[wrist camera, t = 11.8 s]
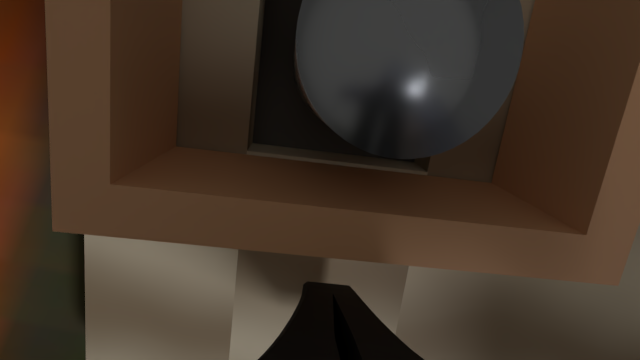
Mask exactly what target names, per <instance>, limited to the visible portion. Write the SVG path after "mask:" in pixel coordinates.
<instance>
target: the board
mask: <svg viewBox="0 0 640 360" xmlns="http://www.w3.org/2000/svg"><path fill="white" fill-rule="evenodd" d="M302 1H303V0H182V22H181V45H180V68H179V92H178V115H177V138H176V146H177V147H186V148H194V149H203V150H212V151H220V152H229V153H238V154H246V155H255V156H264V157H272V158H281V159H289V160H298V161H307V162H315V163H324V164H333V165H341V166H350V167H359V168H367V169H376V170H384V171H393V172H402V173H410V174H419V175H428V176H436V177H445V178H454V179H462V180H471V181H479V182H488V183H491V182H492V178H493V174H494V170H495V166H496V161H497V157H498V153H499V149H500V145H501V141H502V136H503V132H504V128H505V124H506V120H507V115H508V111H509V107H510V103H511V99H512V95H513V90H514V86H515V82H516V79H515V81H514V84H513V86H512V88H511V90H510V92H509V94H508V96H507V98H506V100H505V101H504V103H503V104H502V106H501V107H500V109H499V110H498V112H497V113H496V114H495V115H494V116H493V118H492V119H491V120H490V121H489V122H488V123H487V124H486V125H485V126H484V127H483V128H482V129H481V130H480V131H479V132H478V133H476V134H475V135H474V136H472V137H471V138H469V139H468V140H467V141H465V142H463V143H462V144H460V145H458V146H456V147H454V148H452V149H450V150H447V151H445V152H443V153H440V154H436V155H433V156H429V157H424V158H416V159H395V158H387V157H382V156H378V155H375V154H371V153H369V152H366V151H364V150H362V149H359V148H357V147H355V146H354V145H352V144H350V143H349V142H347V141H345V140H344V139H343V138H342V137H340V136H339V135H338V134H336V133H335V132H334V131H333V130H332V129H331V128H329V127H328V126H327V125H326V124H325V123H324V122H323V121H322V120H321V119H319V118H318V117H317V116H316V115H315V114H314V113H313V112H312V111H311V110H310V109H309V108H308V107H307V105H306V104H305V103H304V101H303V100H302V98H301V96H300V94H299V92H298V89H297V87H296V83H295V79H294V71H293V63H294V51H295V39H296V30H297V21H298V16H299V12H300V8H301V4H302ZM520 3H521V7H522V13H523V21H524V43H523V49H524V45H525V40H526V36H527V32H528V28H529V24H530V19H531V15H532V11H533V7H534V3H535V0H520ZM522 53H523V52H522ZM517 74H518V73H517ZM516 78H517V76H516ZM84 254H85V327H86V360H258V359H259V358H260V357H261V356H262V355H263V354H264V353H265V352H266V350H267V349H268V348H269V347H270V346H271V345H272V343H273V342H274V341H275V340H276V338H277V337H278V336H279V335H280V333H281V332H282V330H283V329H284V327H285V326H286V324H287V323H288V321H289V320H290V318H291V316H292V315H293V313H294V311H295V309H296V307H297V305H298V303H299V301H300V298H301V296H302V289H303V284H305V283H306V282H307V281H309V282H320V283H330V284H340V285H349V286H350V287H351V288H352V289H353V290H354V291H355V292H356V293H357V295H358V296H359V297H360V298H361V299H362V300H363V302H364V303H365V304H366V305H367V306H368V307H369V308H370V309H371V311H372V312H373V313H374V314H375V315H376V316H377V317H378V318H379V319H380V320H381V321H382V322H383V323H384V324H385V325H386V326H387V327H388V328H389V329H390V330H391V331H392V332H393V333H394V334H395V335H396V336H397V337H398V338H399V339H400V340H401V341H402V342H403V343H405V344H406V345H407V346H408V347H409V348H410V349H412V350H413V351H414V352H415V353H417V354H418V355H419V356H420V357H422V358H423V359H424V360H640V223H639V226H638V229H637V232H636V235H635V238H634V241H633V244H632V247H631V250H630V253H629V256H628V259H627V262H626V265H625V268H624V271H623V273H622V276H621V279H620V282H619V285H618V286H614V285H604V284H593V283H583V282H573V281H562V280H552V279H542V278H531V277H521V276H510V275H500V274H490V273H479V272H469V271H459V270H448V269H438V268H428V267H417V266H407V265H396V264H386V263H376V262H365V261H355V260H345V259H334V258H324V257H314V256H303V255H293V254H282V253H272V252H262V251H251V250H241V249H231V248H220V247H210V246H200V245H189V244H179V243H168V242H158V241H148V240H137V239H127V238H117V237H106V236H96V235H86V234H84Z"/></svg>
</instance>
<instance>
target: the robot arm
mask: <svg viewBox="0 0 640 360" xmlns="http://www.w3.org/2000/svg"><path fill="white" fill-rule="evenodd" d="M258 360H424V359H423V358H422V357H420V356H419V355H418V354H417V353H415V352H414V351H413V350H412V349H410V348H409V347H408V346H407V345H406V344H405V343H403V342H402V341H401V340H400V339H399V338H398V337H397V336H396V335H395V334H394V333H393V332H392V331H391V330H390V329H389V328H388V327H387V326H386V325H385V324H384V323H383V322H382V321H381V320H380V319H379V318H378V317H377V316H376V315H375V314H374V313H373V312H372V311H371V309H370V308H369V307H368V306H367V305H366V304H365V303H364V302H363V300H362V299H361V298H360V297H359V296H358V295H357V293H356V292H355V291H354V290H353V289H352V288H351V287H350V286H349V285H340V284H330V283H320V282H309V281H307V282H306V283H305V284H303V289H302V296H301V298H300V301H299V303H298V305H297V307H296V309H295V311H294V313H293V315H292V316H291V318H290V320H289V321H288V323H287V324H286V326H285V327H284V329H283V330H282V332H281V333H280V335H279V336H278V337H277V338H276V340H275V341H274V342H273V343H272V345H271V346H270V347H269V348H268V349H267V350H266V352H265V353H264V354H263V355H262V356H261V357H260V358H259V359H258Z"/></svg>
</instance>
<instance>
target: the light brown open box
mask: <svg viewBox="0 0 640 360" xmlns="http://www.w3.org/2000/svg"><path fill="white" fill-rule="evenodd" d="M45 22H46V51H47V81H48V111H49V140H50V170H51V199H52V229H53V231H54V232H65V233H75V234H86V235H96V236H106V237H117V238H127V239H137V240H148V241H158V242H168V243H179V244H189V245H200V246H210V247H220V248H231V249H241V250H251V251H262V252H272V253H282V254H293V255H303V256H314V257H324V258H334V259H345V260H355V261H365V262H376V263H386V264H396V265H407V266H417V267H428V268H438V269H448V270H459V271H469V272H479V273H490V274H500V275H510V276H521V277H531V278H542V279H552V280H562V281H573V282H583V283H593V284H604V285H614V286H618V285H619V282H620V279H621V276H622V273H623V271H624V268H625V265H626V262H627V259H628V256H629V253H630V250H631V247H632V244H633V241H634V238H635V235H636V232H637V229H638V226H639V223H640V0H535V3H534V7H533V11H532V15H531V19H530V24H529V28H528V32H527V36H526V40H525V45H524V49H523V53H522V58H521V62H520V66H519V70H518V74H517V78H516V82H515V86H514V90H513V95H512V99H511V103H510V107H509V111H508V115H507V120H506V124H505V128H504V132H503V136H502V141H501V145H500V149H499V153H498V157H497V161H496V166H495V170H494V174H493V178H492V182H491V183H488V182H479V181H471V180H462V179H454V178H445V177H436V176H428V175H419V174H410V173H402V172H393V171H384V170H376V169H367V168H359V167H350V166H341V165H333V164H324V163H315V162H307V161H298V160H289V159H281V158H272V157H264V156H255V155H246V154H238V153H229V152H220V151H212V150H203V149H194V148H186V147H177V146H176V138H177V115H178V92H179V68H180V45H181V22H182V0H45Z"/></svg>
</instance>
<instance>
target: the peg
mask: <svg viewBox="0 0 640 360" xmlns="http://www.w3.org/2000/svg"><path fill="white" fill-rule="evenodd" d="M523 43H524V21H523V13H522V7H521V3H520V0H303V1H302V4H301V8H300V12H299V16H298V21H297V30H296V39H295V51H294V63H293V71H294V79H295V83H296V87H297V89H298V92H299V94H300V96H301V98H302V100H303V101H304V103H305V104H306V105H307V107H308V108H309V109H310V110H311V111H312V112H313V113H314V114H315V115H316V116H317V117H318V118H319V119H321V120H322V121H323V122H324V123H325V124H326V125H327V126H328V127H329V128H331V129H332V130H333V131H334V132H335V133H336V134H338V135H339V136H340V137H342V138H343V139H344V140H345V141H347V142H349V143H350V144H352V145H354V146H355V147H357V148H359V149H362V150H364V151H366V152H369V153H371V154H375V155H378V156H382V157H387V158H395V159H416V158H424V157H429V156H433V155H436V154H440V153H443V152H445V151H447V150H450V149H452V148H454V147H456V146H458V145H460V144H462V143H463V142H465V141H467V140H468V139H469V138H471V137H472V136H474V135H475V134H476V133H478V132H479V131H480V130H481V129H482V128H483V127H484V126H485V125H486V124H487V123H488V122H489V121H490V120H491V119H492V118H493V116H494V115H495V114H496V113H497V112H498V110H499V109H500V107H501V106H502V104H503V103H504V101H505V100H506V98H507V96H508V94H509V92H510V90H511V88H512V86H513V84H514V81H515V79H516V76H517V73H518V70H519V66H520V62H521V58H522V52H523Z"/></svg>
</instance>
